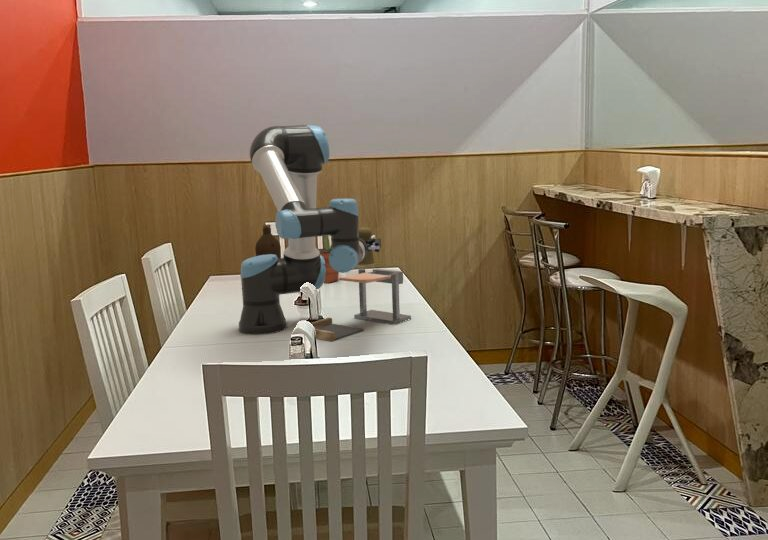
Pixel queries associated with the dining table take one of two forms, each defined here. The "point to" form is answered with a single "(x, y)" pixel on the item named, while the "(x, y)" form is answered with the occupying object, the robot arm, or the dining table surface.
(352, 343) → the dining table surface
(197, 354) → the dining table surface
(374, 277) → the drop flap
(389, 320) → the flap stand
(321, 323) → the wooden picture frame
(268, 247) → the olive oil
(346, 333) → the mat
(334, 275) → the potted plant
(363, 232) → the cork
